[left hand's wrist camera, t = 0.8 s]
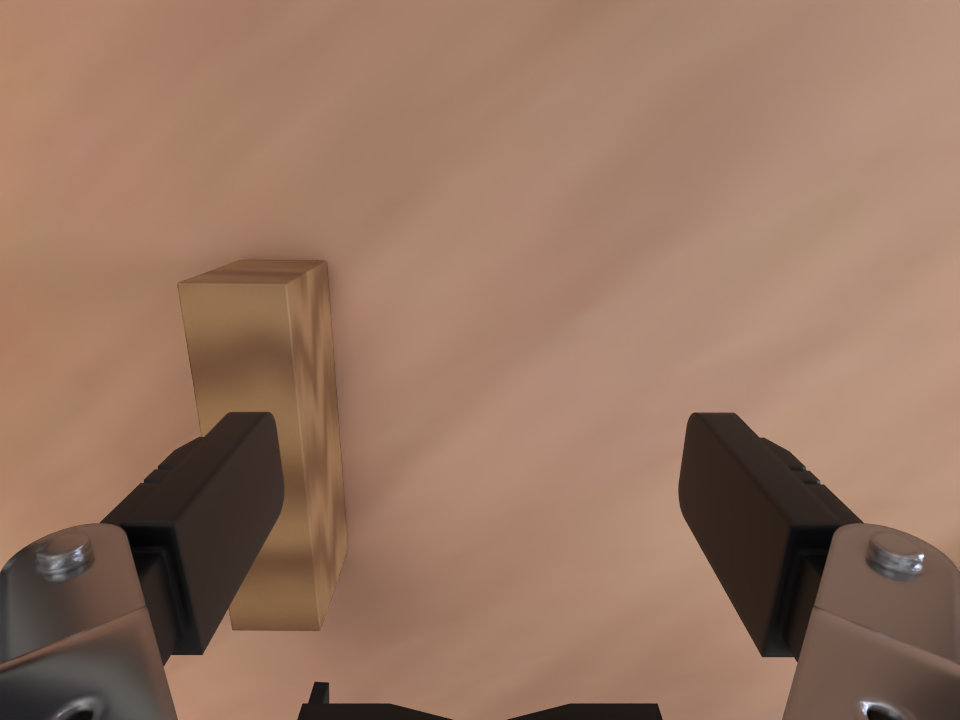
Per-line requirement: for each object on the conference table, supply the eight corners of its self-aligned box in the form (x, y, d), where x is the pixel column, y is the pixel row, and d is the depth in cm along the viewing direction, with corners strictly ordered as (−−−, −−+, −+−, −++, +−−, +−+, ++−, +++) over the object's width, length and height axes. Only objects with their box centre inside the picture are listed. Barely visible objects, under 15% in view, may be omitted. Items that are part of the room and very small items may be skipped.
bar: (240, 259, 38) (176, 282, 30) (326, 260, 38) (286, 283, 30) (275, 549, 46) (231, 630, 38) (348, 550, 46) (320, 631, 38)
